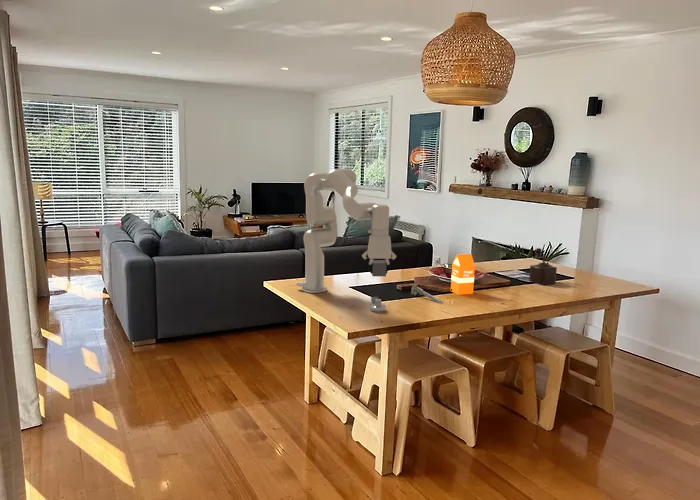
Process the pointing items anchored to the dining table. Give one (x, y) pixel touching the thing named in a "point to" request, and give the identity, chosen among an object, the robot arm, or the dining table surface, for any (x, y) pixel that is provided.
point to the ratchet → (377, 305)
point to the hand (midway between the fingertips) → (378, 272)
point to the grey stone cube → (379, 268)
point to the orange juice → (463, 274)
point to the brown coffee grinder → (542, 271)
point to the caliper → (423, 293)
